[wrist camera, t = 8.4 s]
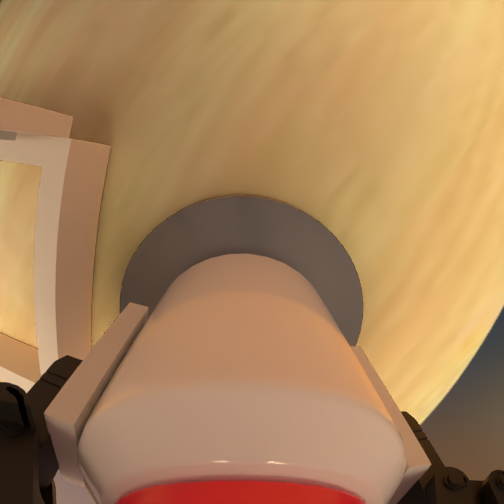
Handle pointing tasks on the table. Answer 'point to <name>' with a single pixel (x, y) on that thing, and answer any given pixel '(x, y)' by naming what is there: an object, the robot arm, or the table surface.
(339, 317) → the saucer
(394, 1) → the table surface
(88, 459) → the pill bottle
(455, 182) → the table surface
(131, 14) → the table surface
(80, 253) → the box
